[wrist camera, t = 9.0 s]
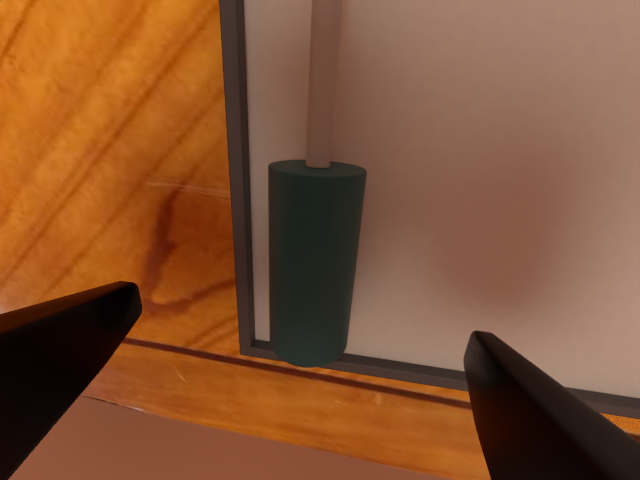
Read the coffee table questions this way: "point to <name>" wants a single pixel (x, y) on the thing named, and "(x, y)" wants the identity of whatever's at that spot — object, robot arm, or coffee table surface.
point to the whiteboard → (458, 180)
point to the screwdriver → (314, 221)
